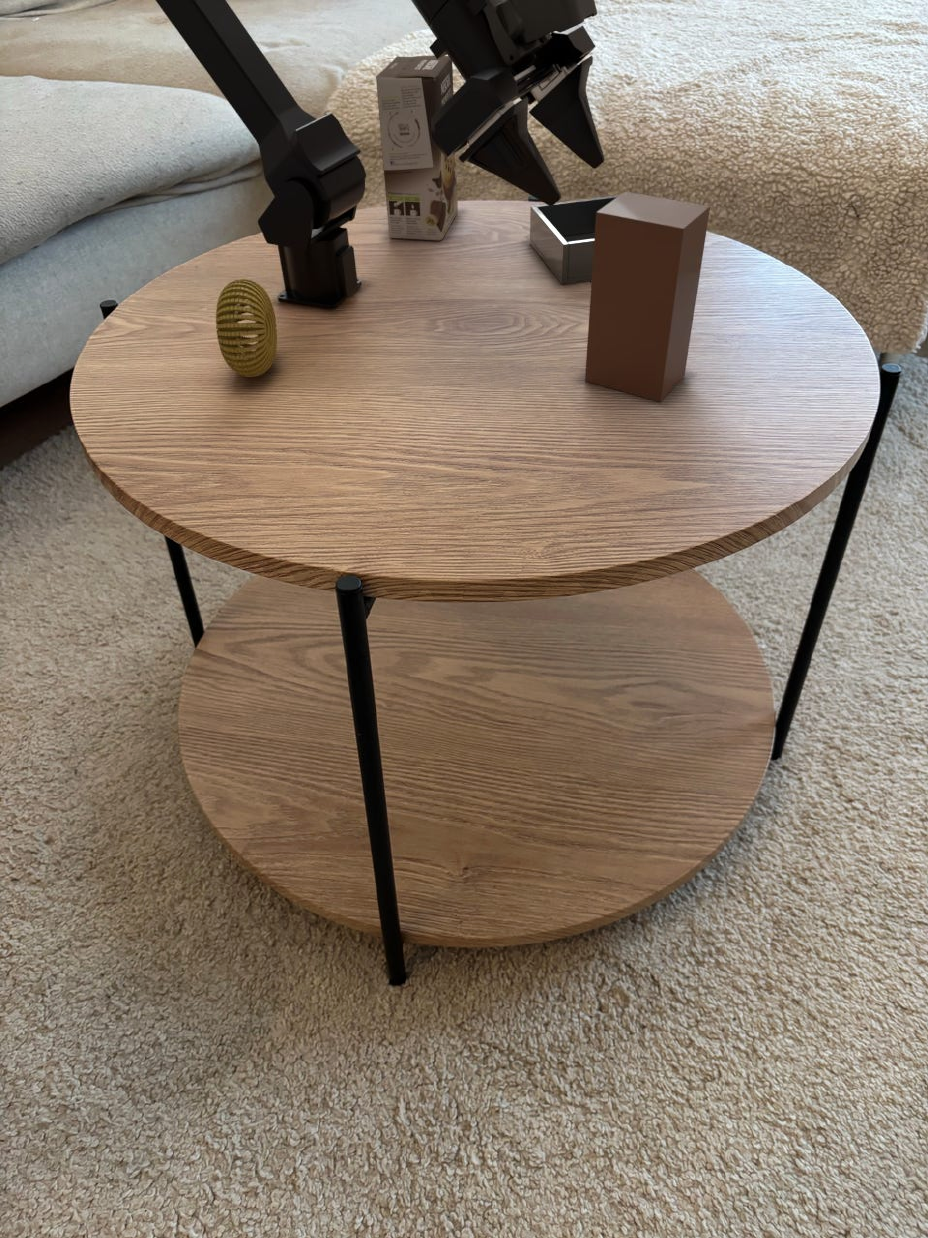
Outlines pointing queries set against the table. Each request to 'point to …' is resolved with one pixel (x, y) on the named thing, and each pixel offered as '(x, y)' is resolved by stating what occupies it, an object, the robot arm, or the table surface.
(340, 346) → the table surface
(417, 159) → the coffee box
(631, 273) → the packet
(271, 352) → the sculpture
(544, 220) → the open box
